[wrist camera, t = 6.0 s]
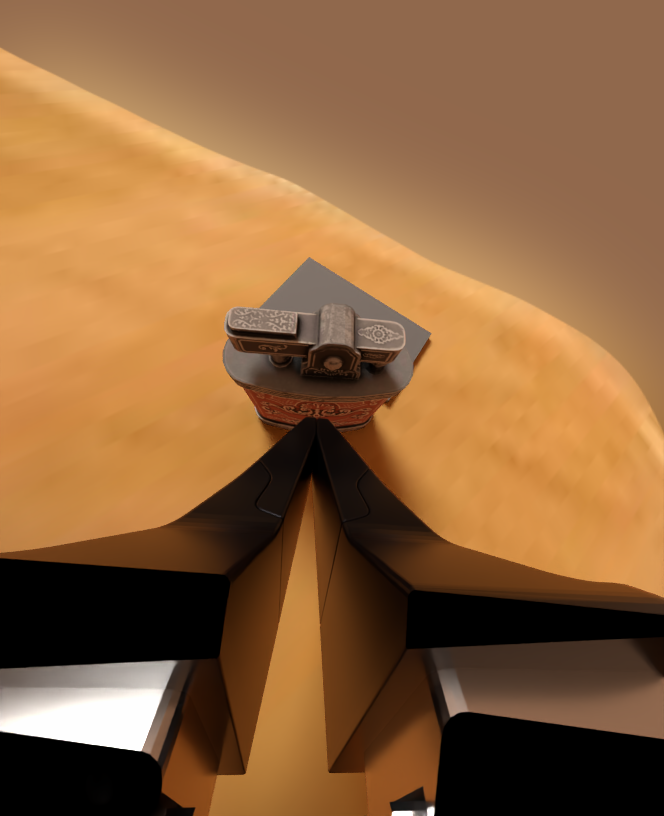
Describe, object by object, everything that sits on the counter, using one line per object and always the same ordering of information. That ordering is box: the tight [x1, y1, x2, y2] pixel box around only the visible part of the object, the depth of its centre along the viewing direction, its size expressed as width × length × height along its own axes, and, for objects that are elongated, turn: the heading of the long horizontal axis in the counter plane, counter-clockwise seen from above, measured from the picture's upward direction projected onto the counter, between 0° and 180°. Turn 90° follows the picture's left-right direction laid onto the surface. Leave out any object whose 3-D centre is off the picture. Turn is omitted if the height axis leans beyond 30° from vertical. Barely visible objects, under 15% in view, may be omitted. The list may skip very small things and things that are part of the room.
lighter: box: [223, 303, 413, 432], centre depth 13 cm, size 8×3×10 cm, turn 88°
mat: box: [259, 257, 431, 403], centre depth 20 cm, size 7×12×1 cm, turn 56°
